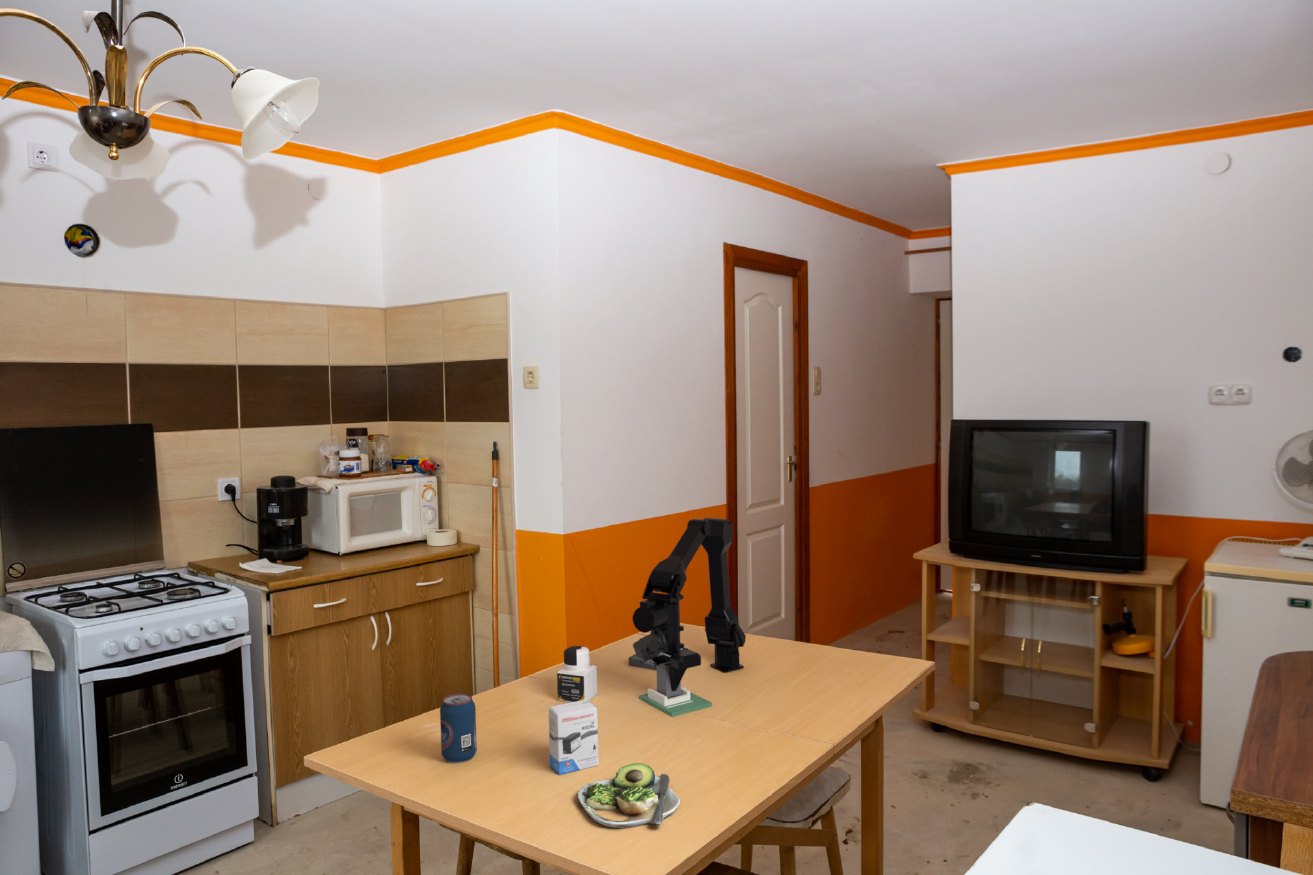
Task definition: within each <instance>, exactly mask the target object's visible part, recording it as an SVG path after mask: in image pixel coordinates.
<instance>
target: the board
mask: <svg viewBox="0 0 1313 875" xmlns="http://www.w3.org/2000/svg"><path fill="white" fill-rule="evenodd" d="M638 699H639V700H640V701H642V702H644V703H646V704H648V705H649V706H652V707H653V708H655V709H658V710H660V712H662V713H664V714H666V715H668V716H670V717H672V718H673V717H677V716H680V715H681V716H682V715H685V714H688V713H692V712H695V711H700V710H702V709H706V708H710V707H713V702H711V701H710V700H707V699H705V698H703V697H701V696H700V695H697V694H696V693H693V692H691V691H690V690H688V689H687V687H685V686H683V685H681V694H679V695H675V696H671V697H666V696H664V695H663V694H661V693H659V692H657V689H656V690H655V689H653V688H648V689H647V693H643V694H639V695H638Z"/></svg>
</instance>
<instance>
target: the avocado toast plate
mask: <svg viewBox="0 0 1313 875" xmlns="http://www.w3.org/2000/svg"><path fill="white" fill-rule="evenodd" d="M669 784H670V776H669V775H668V774H666V773H661V774H660V775H659V776H658V775H655V771H654V770H653V768H652V767H651V766H650V765H648V764H645V763H641V762H640V763H638V762H636V763H630V764H626V765H624V766H622V767H620V768H619V769H618V771H616V772H615V776H614V777H613V778H610V779H609V778H608V779H604V780H598V781H597V780H596V781H592V782H589V783H587V784H584V785H583V786H582V787H581V788H580V789H579V790H578V791H577V801H578V804H579V806H580V807H581V808H582V809H583V810H584V811H585V812H586V815H588V816H589V817H590V818H591V819H593V821H594V822H596V823H598V824H600V825H602V826H604V827H609V828H613V829H614V828H616V829H630V828H631V829H632V828H636V827H640V826H644V825H645V826H646V825H651V824H652V825H655V826H659V825H662V824H663V821H664V818H666V817H668V816H669V815H671V814H673V813H674V812H675V811H676V810H677V809H678V807H679V806H680V802H681V800H680V798H679V796H678V795H677V794H676V793H675V792H674V791H673V790H672V789H671V788H670V787H669ZM596 811H607V812H609V811H616V812H619V813H622V814H623V816H625V817H628V818H626V819H622V820H612V819H608V818H606V817H603V816H601V815H599V813H597V812H596Z"/></svg>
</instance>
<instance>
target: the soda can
mask: <svg viewBox="0 0 1313 875" xmlns="http://www.w3.org/2000/svg"><path fill="white" fill-rule="evenodd" d="M476 709H477V708H476V704H475V702H474V700H473V696H472V695H471V694H468V693H453V694H449V695H447V696H445V697H444V698H442V703H441V705H440V707H439V718H440V719H439V720H440V723H439V724H440V746H441V747H440V749H441V755H442V757H443V759H444V760H445V761H446V762H447V763H449V764H462V763H466V762H469V761H472V759H473V758H474V757H475V754H476V753H477V750H478V744H477V743H478V742H477V741H478V740H477V738H478V737H477V715H476V714H477V713H476V711H477V710H476Z"/></svg>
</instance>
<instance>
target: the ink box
mask: <svg viewBox="0 0 1313 875" xmlns="http://www.w3.org/2000/svg"><path fill="white" fill-rule="evenodd" d="M598 723H599V722H598V706H596V705H595V704H594V703H592V701H591V700H582V701H577V702H572V703H570V702H565V703H563V704H557V705H551V706H550V707H548V734H549V736H548V738H549V744H548V745H549V766H550V768H551V769H553V771H554V772H556V773H557V775H559V776H561V775H565V774H569V773H572V772H577V771H581V770H585V769H586V770H587V769H590V768H592V767H593V768H594V767H596V766H597V767H598V766H599V764H600V763H599V729H598V728H599V727H598Z"/></svg>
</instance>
